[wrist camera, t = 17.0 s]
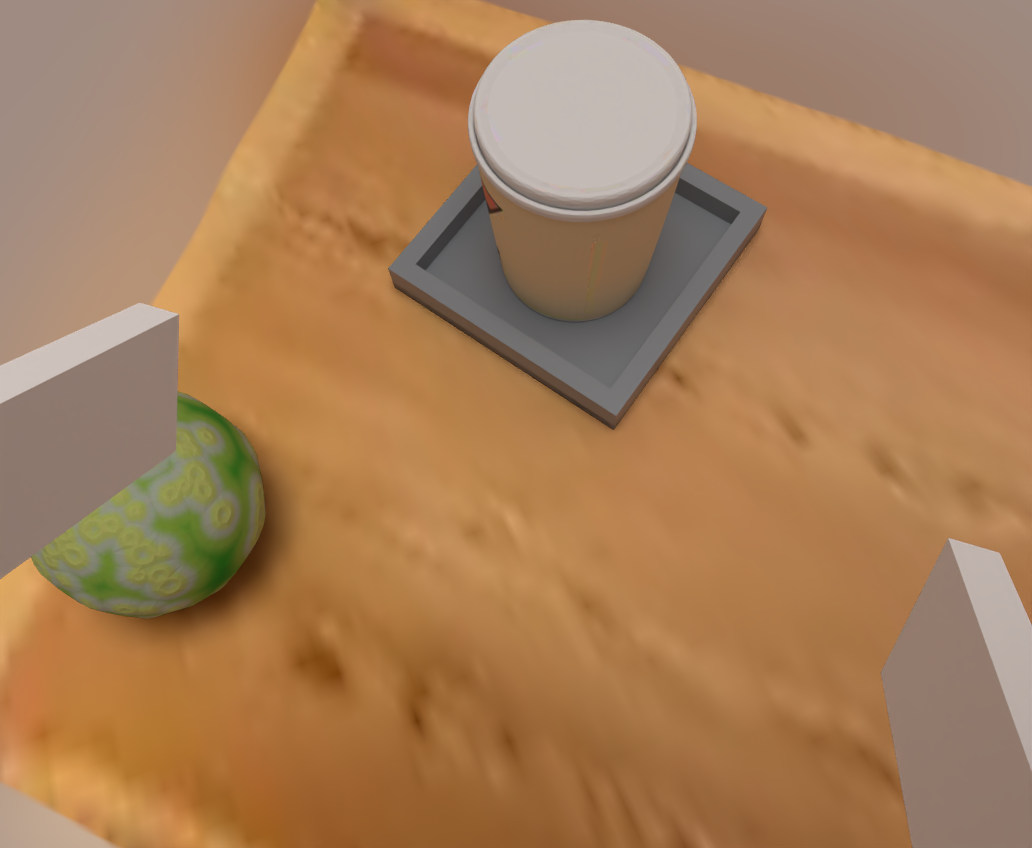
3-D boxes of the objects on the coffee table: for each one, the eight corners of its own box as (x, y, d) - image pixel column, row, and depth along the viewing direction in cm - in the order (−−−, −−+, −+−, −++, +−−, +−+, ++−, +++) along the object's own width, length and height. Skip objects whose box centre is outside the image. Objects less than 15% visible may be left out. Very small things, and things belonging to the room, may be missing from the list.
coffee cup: (522, 162, 49) (514, -11, 38) (685, 210, 48) (728, 46, 36) (459, 305, 46) (430, 165, 35) (631, 361, 45) (659, 234, 34)
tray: (758, 228, 48) (767, 207, 46) (613, 429, 44) (616, 416, 42) (546, 108, 51) (545, 84, 49) (394, 287, 47) (388, 268, 46)
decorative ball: (251, 654, 41) (162, 628, 32) (57, 599, 43) (-83, 559, 33) (320, 457, 44) (258, 381, 35) (138, 412, 46) (30, 326, 36)
